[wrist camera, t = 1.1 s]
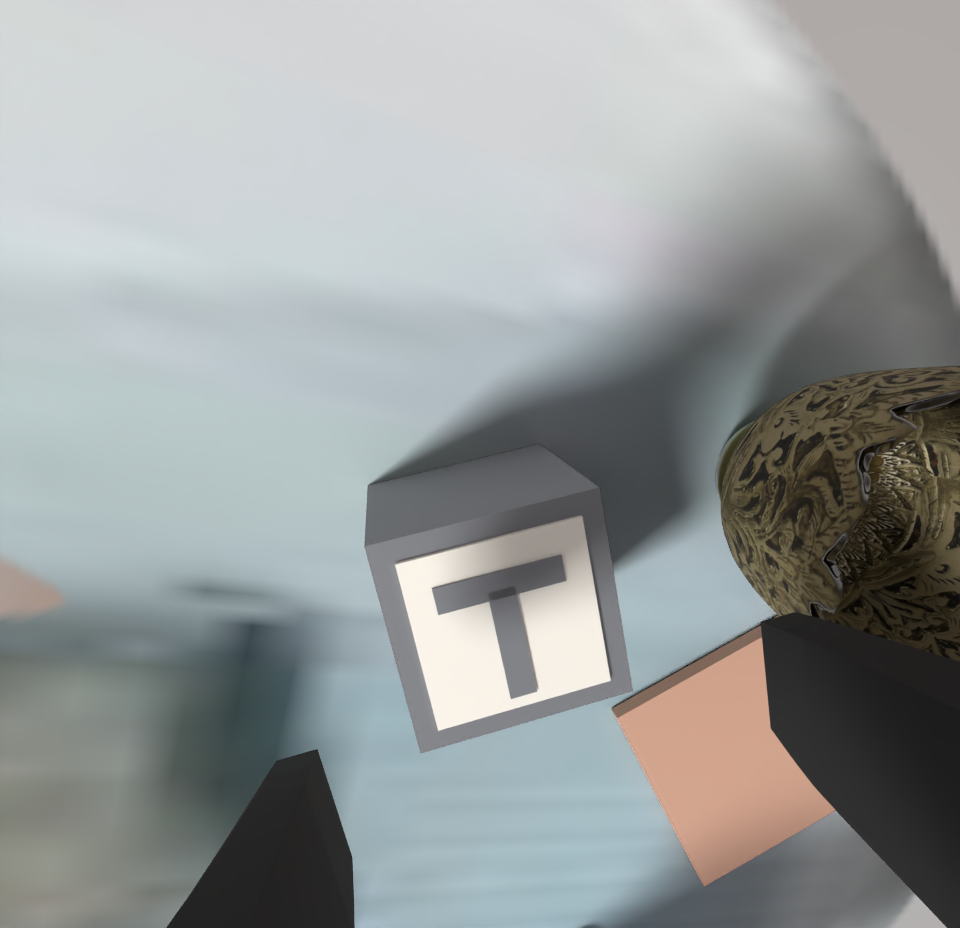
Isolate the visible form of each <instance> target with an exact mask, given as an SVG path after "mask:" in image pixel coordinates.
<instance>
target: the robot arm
mask: <svg viewBox="0 0 960 928" xmlns="http://www.w3.org/2000/svg"><path fill="white" fill-rule="evenodd" d="M760 623H761V633H762V644H763V654H764V664H765V675H766V685H767V696H768V706H769V716H770V727H771V730H772V731H773V732H774V734H775V735H776V737H777V738H778V739H779V741H780V742H781V743H782V745H783V746H784V748H785V749H786V750H787V752H788V753H789V755H790V756H791V757H792V759H793V760H794V761H795V763H796V764H797V765H798V767H799V768H800V769H801V770H802V772H803V773H804V774H805V776H806V777H807V778H808V780H809V781H810V782H811V783H812V785H813V786H814V787H815V788H816V789H817V790H818V791H819V793H820V794H821V795H822V796H823V797H824V798H825V799H826V800H827V801H828V802H829V803H830V804H831V806H832V807H833V808H834V809H835V810H836V811H837V812H838V813H839V814H840V815H841V816H842V817H843V818H844V819H845V821H846V822H847V823H848V824H849V825H850V826H851V827H852V828H853V829H854V830H855V831H856V832H857V833H858V834H859V835H860V836H861V838H862V839H863V840H864V841H865V842H866V843H867V844H868V845H869V846H870V847H871V848H872V849H873V850H874V851H875V852H876V853H877V854H878V855H879V856H880V858H881V859H882V860H883V861H884V862H885V863H886V864H887V865H888V866H889V867H890V868H891V869H892V870H893V871H894V872H895V873H896V874H897V875H898V876H899V877H900V879H901V880H902V881H903V882H904V883H905V884H906V885H907V886H908V887H909V888H910V889H911V890H912V891H913V892H914V893H915V894H916V895H917V896H918V897H919V899H920V900H922V902H923V903H924V904H925V905H926V906H927V907H928V908H929V909H930V910H931V911H932V912H933V913H934V914H935V915H936V916H937V917H938V919H939V920H940V921H941V922H942V923H943V924H944V925H945V926H946V927H947V928H960V661H956V660H953V659H950V658H946V657H943V656H940V655H936V654H933V653H930V652H927V651H923V650H920V649H917V648H914V647H911V646H907V645H904V644H901V643H898V642H895V641H892V640H888V639H885V638H882V637H879V636H876V635H873V634H869V633H866V632H863V631H860V630H857V629H854V628H850V627H847V626H844V625H841V624H837V623H834V622H831V621H827V620H824V619H820V618H817V617H813V616H809V615H805V614H801V613H797V612H793V613H790V614H786V615H783V616H779V617H776V618H772V619H769V620H765V621H762V622H760ZM167 928H354V890H353V864H352V855H351V852H350V849H349V846H348V843H347V840H346V837H345V834H344V831H343V827H342V824H341V821H340V818H339V815H338V812H337V809H336V806H335V803H334V799H333V796H332V793H331V790H330V787H329V784H328V781H327V778H326V775H325V772H324V768H323V765H322V762H321V759H320V756H319V753H318V750H317V749H316V750H313V751H309V752H306V753H302V754H299V755H295V756H292V757H288V758H285V759H281V760H278V761H276V762H275V764H274V765H273V767H272V768H271V770H270V771H269V773H268V775H267V776H266V778H265V779H264V781H263V782H262V784H261V785H260V787H259V788H258V790H257V792H256V793H255V795H254V796H253V798H252V799H251V801H250V803H249V804H248V806H247V807H246V809H245V811H244V812H243V814H242V815H241V817H240V818H239V820H238V822H237V823H236V825H235V826H234V828H233V829H232V831H231V833H230V834H229V836H228V837H227V839H226V841H225V842H224V844H223V845H222V847H221V848H220V850H219V851H218V853H217V854H216V856H215V857H214V859H213V860H212V862H211V863H210V865H209V866H208V868H207V869H206V871H205V872H204V874H203V876H202V877H201V879H200V880H199V882H198V883H197V885H196V886H195V888H194V889H193V891H192V892H191V894H190V895H189V897H188V898H187V900H186V901H185V902H184V904H183V905H182V907H181V908H180V909H179V911H178V912H177V914H176V915H175V916H174V918H173V919H172V921H171V922H170V923H169V925H168V926H167Z"/></svg>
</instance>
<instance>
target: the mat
mask: <svg viewBox="0 0 960 928" xmlns="http://www.w3.org/2000/svg"><path fill="white" fill-rule="evenodd" d="M776 617H779V615H778V616H776ZM776 617H774V618H776ZM612 711H613V713H614V715H615V717H616V719H617V720H618V722H619V724H620V726H621V728H622V730H623V732H624V734H625V736H626V738H627V740H628V742H629V744H630V746H631V748H632V749H633V751H634V753H635V755H636V757H637V759H638V761H639V763H640V765H641V767H642V769H643V771H644V773H645V775H646V777H647V779H648V780H649V782H650V784H651V786H652V788H653V790H654V792H655V794H656V796H657V798H658V800H659V802H660V804H661V806H662V808H663V809H664V811H665V813H666V815H667V817H668V819H669V821H670V823H671V825H672V827H673V829H674V831H675V833H676V835H677V837H678V839H679V840H680V842H681V844H682V846H683V848H684V850H685V852H686V854H687V856H688V858H689V860H690V862H691V864H692V866H693V868H694V869H695V871H696V873H697V875H698V877H699V879H700V880H701V882H702V884H703V885H704V887H705V886H706V885H708V884H710V883H711V882H713V881H715V880H717V879H718V878H720V877H722V876H724V875H725V874H727V873H729V872H730V871H732V870H734V869H736V868H737V867H739V866H741V865H743V864H744V863H746V862H748V861H749V860H751V859H753V858H755V857H756V856H758V855H760V854H761V853H763V852H765V851H767V850H768V849H770V848H772V847H774V846H775V845H777V844H779V843H780V842H782V841H784V840H786V839H787V838H789V837H791V836H793V835H794V834H796V833H798V832H799V831H801V830H803V829H805V828H806V827H808V826H810V825H812V824H813V823H815V822H817V821H818V820H820V819H822V818H824V817H825V816H827V815H829V814H831V813H832V812H834V811H836V810H835V809H834V808H833V807H832V806H831V804H830V803H829V802H828V801H827V800H826V799H825V798H824V797H823V796H822V795H821V794H820V793H819V791H818V790H817V789H816V788H815V787H814V786H813V785H812V783H811V782H810V781H809V780H808V778H807V777H806V776H805V774H804V773H803V772H802V770H801V769H800V768H799V767H798V765H797V764H796V763H795V761H794V760H793V759H792V757H791V756H790V755H789V753H788V752H787V750H786V749H785V748H784V746H783V745H782V743H781V742H780V741H779V739H778V738H777V737H776V735H775V734H774V732H773V731H772V730H771V727H770V716H769V706H768V696H767V685H766V675H765V664H764V654H763V644H762V633H761V625H760V626H758V627H756V628H755V629H753V630H751V631H749V632H748V633H746V634H744V635H742V636H740V637H739V638H737V639H735V640H733V641H731V642H730V643H728V644H726V645H724V646H723V647H721V648H719V649H717V650H715V651H714V652H712V653H710V654H708V655H707V656H705V657H703V658H701V659H699V660H698V661H696V662H694V663H692V664H690V665H689V666H687V667H685V668H683V669H682V670H680V671H678V672H676V673H674V674H673V675H671V676H669V677H667V678H665V679H664V680H662V681H660V682H658V683H657V684H655V685H653V686H651V687H649V688H648V689H646V690H644V691H642V692H640V693H639V694H637V695H635V696H633V697H632V698H630V699H628V700H626V701H624V702H623V703H621V704H619V705H617V706H616V707H614V708H612Z"/></svg>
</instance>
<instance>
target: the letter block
mask: <svg viewBox="0 0 960 928" xmlns="http://www.w3.org/2000/svg"><path fill="white" fill-rule="evenodd" d="M365 550H366V554H367V557H368V561H369V565H370V568H371V572H372V576H373V579H374V583H375V587H376V591H377V594H378V598H379V602H380V605H381V609H382V613H383V616H384V620H385V624H386V627H387V631H388V635H389V638H390V642H391V646H392V650H393V653H394V657H395V661H396V664H397V668H398V672H399V675H400V679H401V683H402V686H403V690H404V694H405V697H406V701H407V705H408V709H409V712H410V716H411V720H412V723H413V727H414V731H415V734H416V738H417V742H418V745H419V749H420V753H424V752H427V751H430V750H434V749H437V748H441V747H444V746H447V745H451V744H454V743H458V742H461V741H465V740H468V739H471V738H475V737H478V736H482V735H485V734H488V733H492V732H495V731H499V730H502V729H505V728H509V727H512V726H516V725H519V724H522V723H526V722H529V721H533V720H536V719H539V718H543V717H546V716H550V715H553V714H557V713H560V712H563V711H567V710H570V709H574V708H577V707H580V706H584V705H587V704H591V703H594V702H597V701H601V700H604V699H608V698H611V697H614V696H618V695H621V694H625V693H628V692H631V691H633V689H632V683H631V677H630V671H629V664H628V658H627V652H626V646H625V640H624V634H623V628H622V621H621V615H620V609H619V603H618V597H617V591H616V585H615V578H614V572H613V566H612V560H611V554H610V548H609V542H608V535H607V529H606V523H605V517H604V511H603V505H602V499H601V492H600V487H599V486H597V485H596V484H594V483H593V482H592V481H590V480H589V479H587V478H586V477H585V476H583V475H582V474H581V473H579V472H578V471H576V470H575V469H574V468H572V467H571V466H569V465H568V464H567V463H565V462H564V461H563V460H561V459H560V458H558V457H557V456H556V455H554V454H553V453H551V452H550V451H549V450H547V449H546V448H545V447H543V446H542V445H540V444H537V445H533V446H528V447H524V448H520V449H516V450H512V451H508V452H504V453H499V454H495V455H491V456H487V457H483V458H479V459H475V460H470V461H466V462H462V463H458V464H454V465H450V466H446V467H441V468H437V469H433V470H429V471H425V472H421V473H417V474H412V475H408V476H404V477H400V478H396V479H392V480H388V481H383V482H379V483H375V484H371V485H368V492H367V511H366V529H365Z"/></svg>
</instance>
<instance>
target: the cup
mask: <svg viewBox="0 0 960 928" xmlns="http://www.w3.org/2000/svg"><path fill="white" fill-rule="evenodd" d="M715 482H716V489H717V493H718V496H719V499H720V502H721V518H722V525H723V530H724V534H725V537H726V540H727V543H728V546H729V548H730V551H731V554H732V556H733V558H734V560H735V562H736V564H737V565H738V567H739V568H740V570H741V571H742V573H743V574H744V576H745V577H746V579H747V580H748V581H749V583H750V584H751V585H752V587H753V588H754V589H755V590H756V591H757V593H758V594H759V595H760V596H761V597H762V598H763V599H764V601H765V602H766V603H767V604H768V605H769V606H770V607H771V608H772V609H773V610H774V611H775V612H776V613H777V614H778V615H779V616H783V615H786V614H790V613H793V612H797V613H801V614H805V615H809V616H813V617H817V618H820V619H824V620H827V621H831V622H834V623H837V624H841V625H844V626H847V627H850V628H854V629H857V630H860V631H863V632H866V633H869V634H873V635H876V636H879V637H882V638H885V639H888V640H892V641H895V642H898V643H901V644H904V645H907V646H911V647H914V648H917V649H920V650H923V651H927V652H930V653H933V654H936V655H940V656H943V657H946V658H950V659H953V660H956V661H960V366H945V367H926V368H909V369H894V370H883V371H873V372H865V373H858V374H851V375H844V376H840V377H836V378H832V379H828V380H824V381H821V382H817V383H815V384H812V385H809V386H806V387H804V388H802V389H800V390H798V391H796V392H794V393H792V394H790V395H788V396H786V397H785V398H783V399H782V400H780V401H778V402H777V403H775V404H774V405H773V406H772V407H770V408H769V409H768V410H767V411H765V412H764V413H763V414H762V415H761V416H760V417H759V418H758V419H756V420H754V421H752V422H750V423H748V424H747V425H745V426H744V427H742V428H741V429H739V430H738V431H737V432H736V433H735V434H734V435H733V436H732V437H731V438H730V439H729V441H728V442H727V443H726V445H725V446H724V448H723V450H722V452H721V454H720V457H719V460H718V463H717V467H716V475H715Z"/></svg>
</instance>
